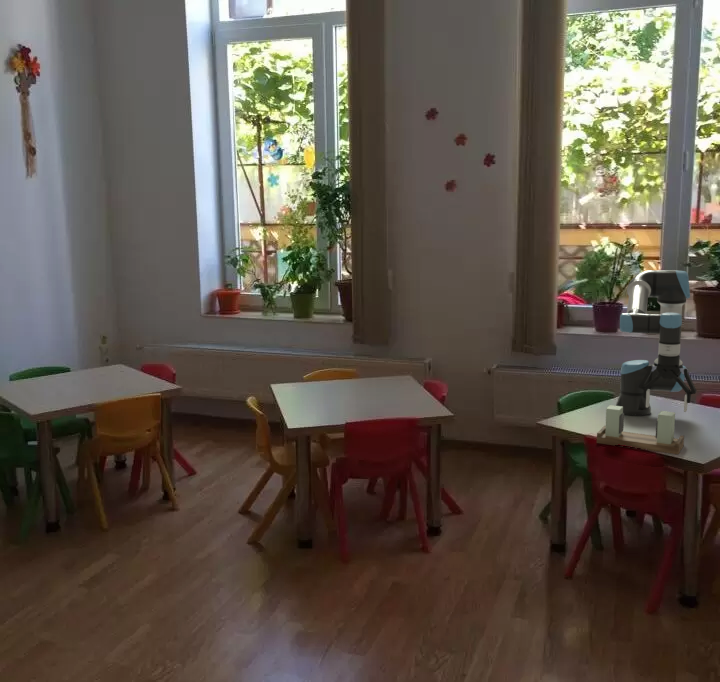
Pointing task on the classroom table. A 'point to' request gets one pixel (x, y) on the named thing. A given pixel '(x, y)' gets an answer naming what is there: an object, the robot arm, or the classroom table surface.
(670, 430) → the block
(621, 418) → the fixed block
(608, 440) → the rail
